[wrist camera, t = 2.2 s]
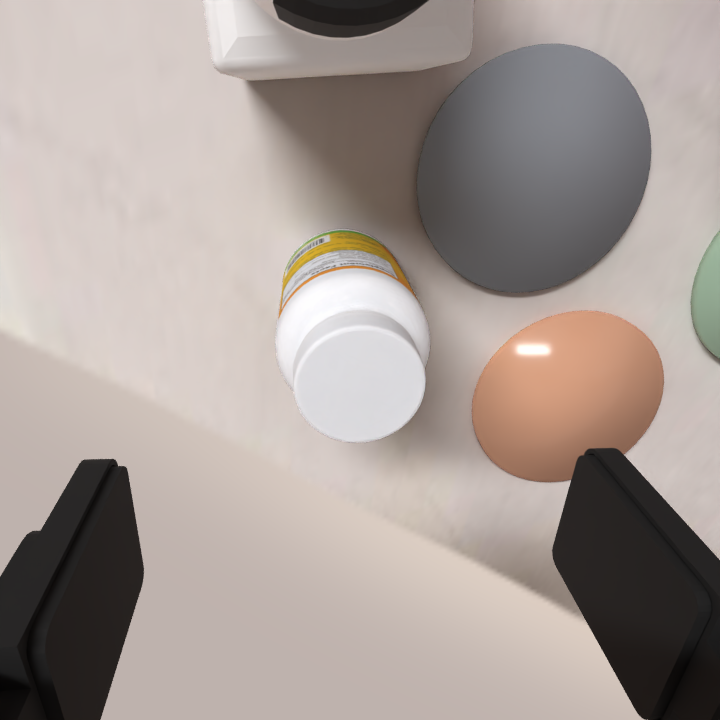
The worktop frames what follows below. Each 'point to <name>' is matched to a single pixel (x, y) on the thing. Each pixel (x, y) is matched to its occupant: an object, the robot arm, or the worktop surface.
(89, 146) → the worktop surface
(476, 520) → the worktop surface
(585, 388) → the peach coaster
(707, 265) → the sage green coaster
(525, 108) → the slate grey coaster
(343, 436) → the supplement bottle
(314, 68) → the medicine bottle
